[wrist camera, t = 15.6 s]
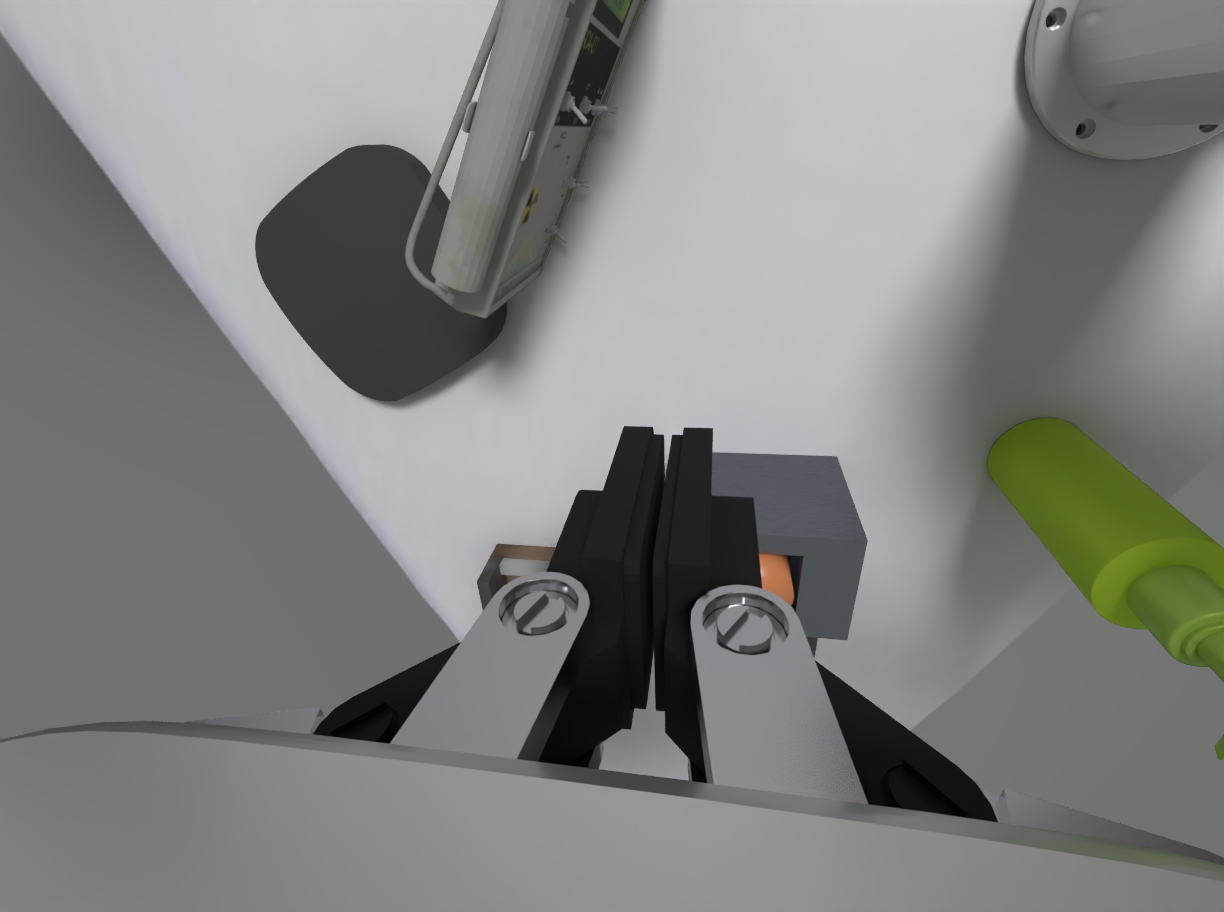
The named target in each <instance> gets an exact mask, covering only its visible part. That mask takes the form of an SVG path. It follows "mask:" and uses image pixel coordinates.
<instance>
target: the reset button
mask: <svg viewBox="0 0 1224 912" xmlns="http://www.w3.org/2000/svg"><path fill="white" fill-rule="evenodd" d="M759 559H760V569H761V580H762V589H765V590H768V591H770V592H772V593H773V594H775V595H777V596H779V597H781V598H782V599H783V600H784V601H786V602H787V603H788V604H789V605H790V606H791V605H792V603H793V600H794V591H793V585H792V579H791V573H790V567H789V561H788V555H776V554H760V553H759Z"/></svg>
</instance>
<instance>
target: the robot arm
mask: <svg viewBox="0 0 1224 912" xmlns="http://www.w3.org/2000/svg"><path fill="white" fill-rule="evenodd" d="M1048 15H1049V16H1051V17H1052V23H1051V25H1050V26H1049V27H1047V26H1046V18H1047V16H1048ZM1024 65H1025V79H1026V87H1027V90H1028V94H1029V97H1030V100H1031V104H1032V107H1033V109H1034V111H1035V113H1036V114H1037V116H1038V118H1039V119H1040V121H1041V123H1042V124H1043V126H1044V127H1045V128H1046V129H1047V130H1048V131H1049V132H1050V133H1051V134H1052V135H1053V136H1054V137H1055V138H1056V139H1057V140H1058V141H1059V142H1061V143H1062V144H1064V145H1066V146H1068V147H1069V148H1071V149H1073V150H1075V151H1077V152H1079V153H1082V154H1086V155H1090V156H1093V157H1097V158H1103V159H1115V160H1135V159H1149V158H1154V157H1158V156H1163V155H1167V154H1172V153H1176V152H1179V151H1181V150H1184V149H1186V148H1189V147H1192V146H1194V145H1197V144H1199V143H1202V142H1205V141H1206V140H1208V139H1210V138H1212V137H1214V136H1216V135H1217V134H1219V133H1221V132H1223V131H1224V0H1036V2H1035V6H1034V9H1033V13H1032V16H1031V20H1030V23H1029V27H1028V30H1027V38H1026V47H1025V55H1024ZM1079 124H1080V125H1081V130H1080V132H1079V133H1078V134H1076V129H1077V127H1078V125H1079ZM1199 125H1200V126H1199ZM712 442H713V428H684V431H683V435H672V440H671V446H670V453H669V459H668V466H667V472H666V478H665V469H664V435H656V434H654V431H653V427H634V426H624V428H623V431H622V434H621V437H620V440H619V443H618V446H617V449H616V452H615V455H614V458H613V461H612V464H611V467H610V471H609V474H608V477H607V480H606V483H605V486H604V489H603V491H596V490H580V491H578V493H577V495H576V497H575V500H574V503H573V505H572V508H571V510H570V513H569V515H568V518H567V520H566V523H565V525H564V528H563V530H562V533H561V535H560V538H559V541H558V543H557V546H556V548H555V551H554V553H553V556H552V558H551V561H550V563H549V566H548V568H547V571H546V572H538V573H531V574H527V575H524V576H522V577H519V578H516V579H514V580H512V581H511V582H509V583H508V584H506V585H504V586H503V587H502V588H501V589H500V590H499V591H498V592H497V593H496V594H495V595H494V596H493V598H492V599H491V600H490V602H489V603H488V605H487V606H486V608H485V609H484V610H483V612H482V613H481V615H480V616H479V618H478V619H477V620H476V622H475V623H474V625H473V626H472V627H471V629H470V630H469V632H468V633H467V635H466V636H465V637H464V639H463V640H462V642H460V643H458V644H456V645H454V646H452V647H450V648H448V649H446V650H444V651H442V652H441V653H439V654H437V655H434V656H433V657H431V658H429V659H427V660H425V661H423V662H421V663H419V664H417V665H415V666H413V667H411V668H409V669H407V670H405V671H403V672H401V673H399V674H397V675H395V676H393V677H391V678H390V679H388V680H386V681H384V682H382V683H380V684H378V685H376V686H374V687H372V688H370V689H368V690H366V691H364V692H362V693H360V694H358V695H356V696H354V697H352V698H351V699H349V700H348V701H346V702H344V703H343V704H341V705H340V706H338V707H336V708H335V709H334V710H333V711H332V712H331V713H330V714H329V715H324V714H323V712H322V710H321V708H311V709H301V710H291V711H282V712H273V713H262V714H253V715H243V716H234V717H224V718H214V719H205V720H195V721H188V722H184V723H183V722H163V721H131V722H130V721H127V722H100V723H92V724H83V725H74V726H67V727H57V728H49V729H44V730H40V731H36V732H31V733H27V734H23V735H18V736H14V737H9V738H5V739H0V912H1224V858H1223V857H1221V856H1218V855H1216V854H1214V853H1212V852H1209V851H1207V850H1204V849H1201V848H1198V847H1195V846H1191V845H1188V844H1185V843H1182V842H1179V841H1175V840H1172V839H1169V838H1166V837H1162V836H1159V835H1156V834H1152V833H1149V832H1146V831H1143V830H1140V829H1136V828H1133V827H1130V826H1127V825H1124V824H1120V823H1117V822H1114V821H1111V820H1107V819H1104V818H1101V817H1098V816H1094V815H1091V814H1088V813H1085V812H1081V811H1078V810H1075V809H1071V808H1069V807H1065V806H1062V805H1059V804H1056V803H1052V802H1049V801H1046V800H1042V799H1040V798H1036V797H1033V796H1030V795H1027V794H1023V793H1020V792H1017V791H1014V790H1010V789H1007V788H1004V789H1003V791H1002V793H1001V795H1000V796H997V795H994V794H991V793H988V792H985V791H982V790H980V788H979V787H978V785H977V784H976V783H975V782H974V781H973V780H972V779H971V778H969V776H967V775H966V774H965V773H964V772H963V771H962V770H961V769H960V768H959V767H958V766H956V765H955V764H954V763H952V762H951V761H949V760H948V759H947V758H946V757H944V756H943V755H942V754H940V753H939V752H938V751H936V750H935V749H934V748H932V747H931V746H930V745H928V744H927V743H925V742H924V741H923V740H921V739H920V738H919V737H917V736H916V735H915V734H913V733H912V732H911V731H909V730H908V729H907V728H905V727H904V726H903V725H901V724H900V723H899V722H897V721H896V720H895V719H893V718H892V717H891V716H889V715H888V714H887V713H885V712H884V711H882V710H881V709H880V708H878V707H877V706H876V705H874V704H873V703H872V702H870V701H869V700H868V699H866V698H865V697H864V696H862V695H861V694H860V693H858V692H857V691H856V690H854V689H853V688H852V687H850V686H849V685H848V684H846V683H845V682H844V681H842V680H841V679H839V678H838V677H837V676H835V675H834V674H833V673H831V672H830V671H829V670H827V669H826V668H825V667H823V666H822V665H821V664H819V663H818V662H817V661H815V659H814V657H813V654H812V651H811V649H810V646H809V643H808V641H807V638H806V635H805V633H804V630H803V627H802V625H801V622H800V619H799V618H798V616H797V614H796V613H795V611H794V609H793V608H792V607H791V606H790V605H789V604H788V603H787V602H786V601H784V600H783V599H782V598H781V597H779V596H777V595H775V594H773V593H772V592H770V591H768V590H765V589H762V580H761V569H760V559H759V548H758V537H757V527H756V516H755V505H754V498H753V497H735V496H712V495H711V486H712ZM653 651H654V659H655V699H656V710H657V711H665V733H666V734H667V735H668V736H669V737H670V738H671V739H672V740H673V741H674V743H675V744H676V745H677V746H678V747H679V748H680V749H681V750H682V751H683V752H684V754H685V755H686V756H687V757H688V777H689V781H686V780H678V779H670V778H662V777H654V776H646V775H638V774H631V773H623V772H615V771H607V770H599V766H600V763H601V760H602V754H603V749H604V746H603V741H605V740H606V739H608V738H609V737H611V736H612V735H613V734H615V733H616V732H618V731H619V730H621V729H631V726H632V719H633V712H634V708H638V709H646V706H647V699H648V691H649V683H650V675H651V667H652V659H653Z"/></svg>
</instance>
